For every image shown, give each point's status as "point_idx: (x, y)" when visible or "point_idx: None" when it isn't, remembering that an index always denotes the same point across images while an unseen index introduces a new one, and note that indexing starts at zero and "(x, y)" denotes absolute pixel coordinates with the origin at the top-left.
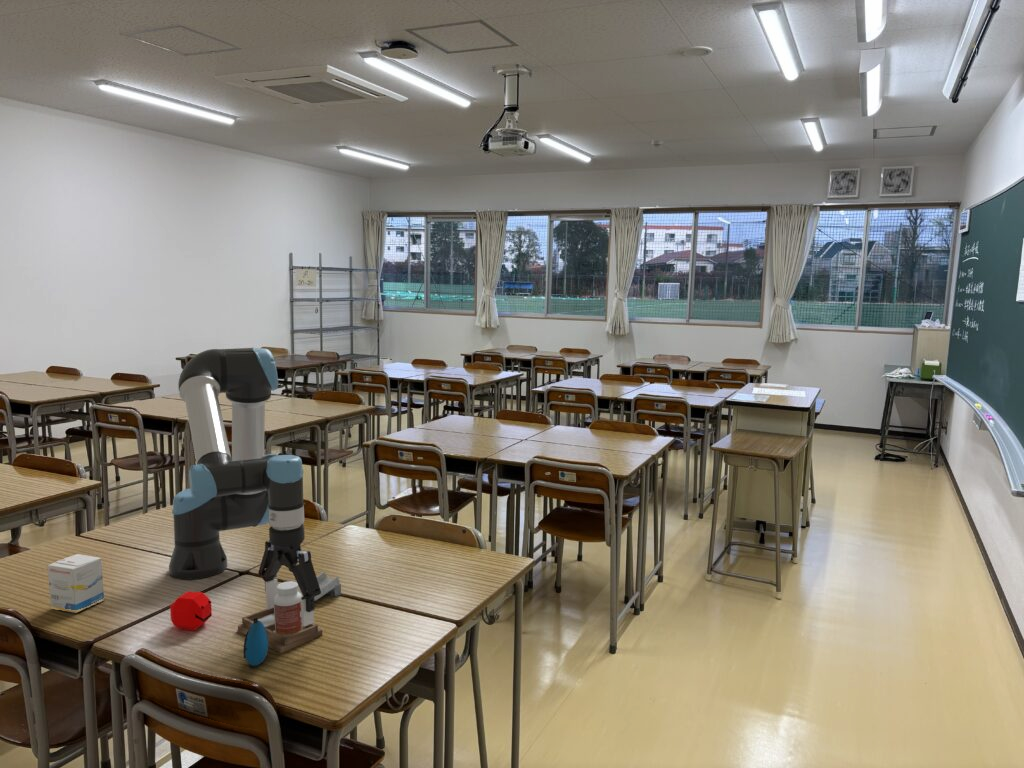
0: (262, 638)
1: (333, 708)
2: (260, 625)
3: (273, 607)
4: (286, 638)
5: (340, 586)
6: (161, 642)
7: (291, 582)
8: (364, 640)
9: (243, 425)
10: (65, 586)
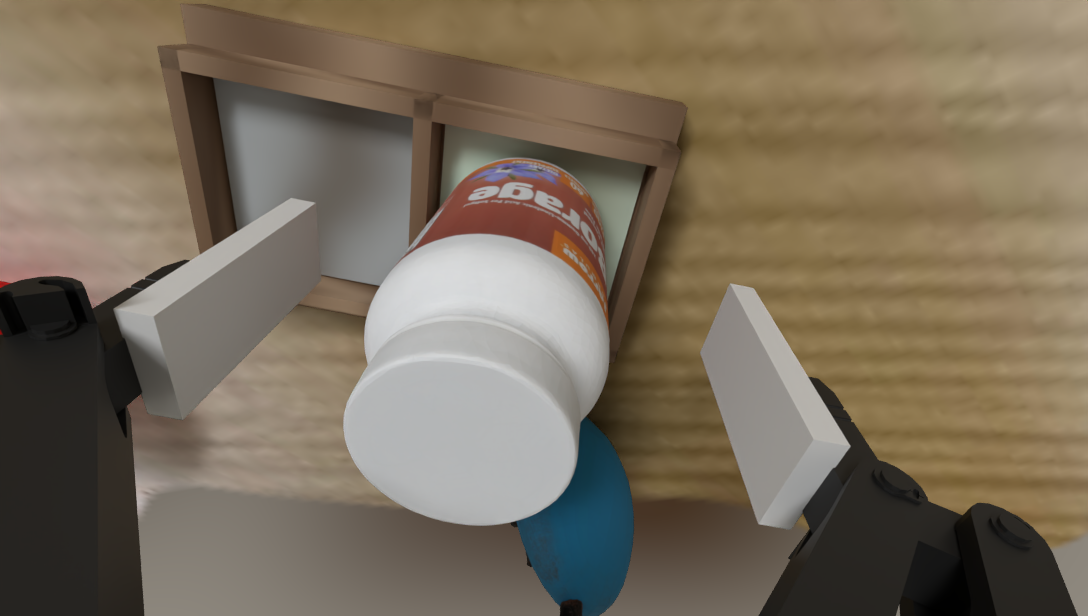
0: (622, 541)
1: (1038, 521)
2: (593, 580)
3: (318, 242)
4: (614, 352)
5: None
6: (144, 452)
7: (430, 387)
8: (1017, 19)
9: None
10: None
